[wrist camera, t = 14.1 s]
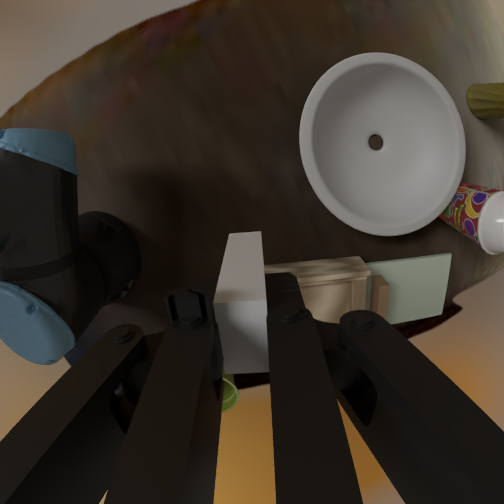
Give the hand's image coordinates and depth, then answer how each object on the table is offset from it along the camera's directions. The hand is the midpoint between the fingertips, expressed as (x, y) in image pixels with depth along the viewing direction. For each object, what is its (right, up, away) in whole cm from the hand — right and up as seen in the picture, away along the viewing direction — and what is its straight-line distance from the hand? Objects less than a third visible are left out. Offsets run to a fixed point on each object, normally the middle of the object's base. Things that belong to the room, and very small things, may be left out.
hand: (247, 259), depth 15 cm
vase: (+38, +25, +21) cm, 50 cm away
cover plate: (+26, -6, +33) cm, 43 cm away
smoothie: (+32, +9, +27) cm, 43 cm away
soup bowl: (+18, +16, +25) cm, 34 cm away
